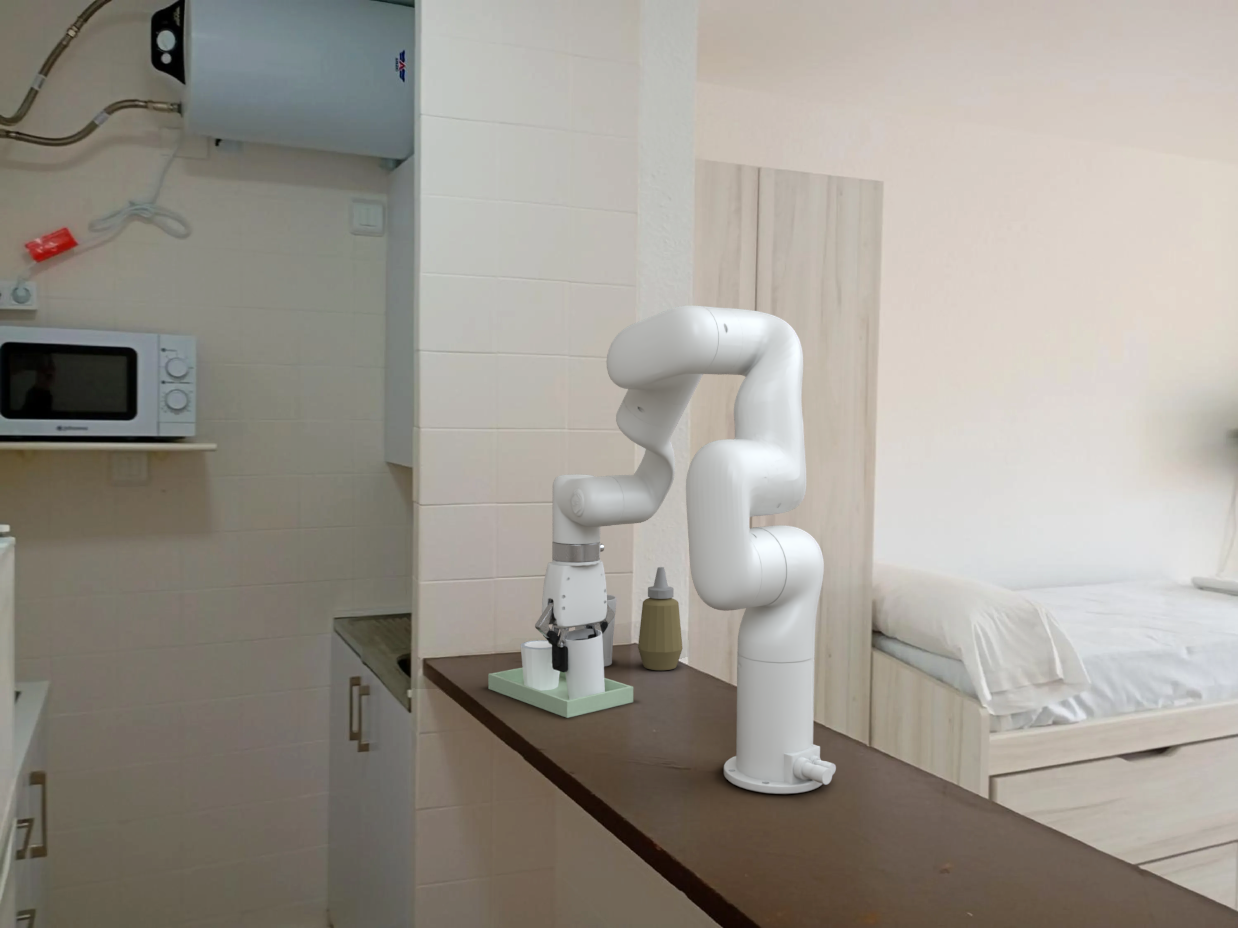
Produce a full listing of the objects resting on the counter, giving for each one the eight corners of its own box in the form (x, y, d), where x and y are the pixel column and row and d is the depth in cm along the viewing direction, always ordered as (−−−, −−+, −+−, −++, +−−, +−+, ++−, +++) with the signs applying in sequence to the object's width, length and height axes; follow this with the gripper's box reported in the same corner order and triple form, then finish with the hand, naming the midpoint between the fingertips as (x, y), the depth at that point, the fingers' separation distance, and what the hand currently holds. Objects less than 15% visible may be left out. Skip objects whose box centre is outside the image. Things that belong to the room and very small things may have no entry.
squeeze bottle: (653, 659, 191) (654, 562, 190) (691, 666, 186) (692, 566, 185) (628, 668, 184) (629, 568, 183) (666, 675, 179) (667, 572, 178)
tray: (633, 702, 163) (633, 686, 163) (567, 718, 154) (567, 701, 154) (552, 675, 179) (552, 661, 179) (488, 688, 170) (488, 673, 170)
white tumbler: (599, 686, 167) (594, 626, 166) (613, 698, 161) (608, 635, 160) (560, 694, 165) (554, 633, 164) (573, 706, 159) (567, 643, 158)
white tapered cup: (560, 691, 167) (560, 648, 166) (518, 691, 167) (518, 648, 166) (563, 680, 173) (563, 639, 173) (522, 680, 174) (522, 639, 173)
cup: (618, 658, 192) (618, 594, 191) (613, 668, 184) (614, 602, 183) (575, 657, 192) (576, 593, 192) (569, 667, 184) (569, 600, 184)
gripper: (602, 546, 170) (602, 654, 171) (517, 555, 159) (517, 671, 160) (633, 551, 165) (632, 663, 165) (546, 561, 153) (546, 681, 154)
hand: (575, 666), depth 163 cm, fingers closed on white tumbler, 5 cm apart
